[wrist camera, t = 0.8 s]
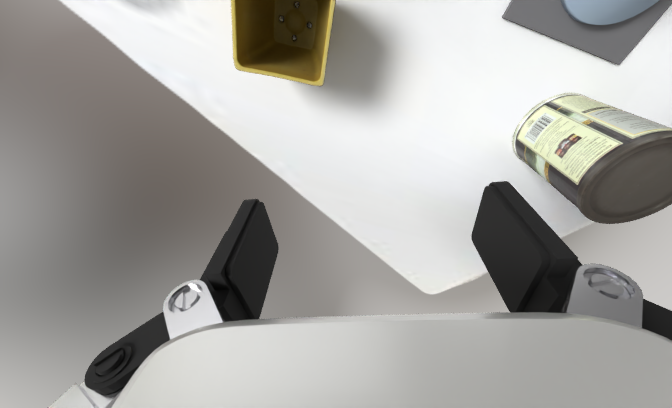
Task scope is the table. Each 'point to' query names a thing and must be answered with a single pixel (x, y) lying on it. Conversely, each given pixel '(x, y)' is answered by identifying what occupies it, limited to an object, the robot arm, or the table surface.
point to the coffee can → (598, 157)
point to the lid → (604, 10)
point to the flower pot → (282, 38)
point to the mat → (585, 27)
